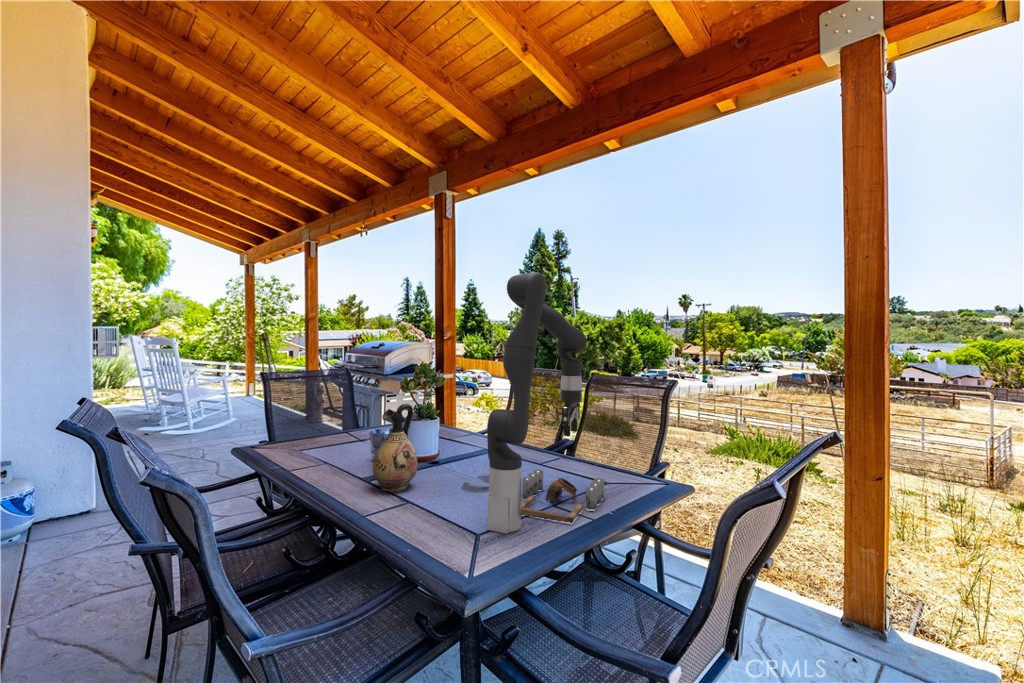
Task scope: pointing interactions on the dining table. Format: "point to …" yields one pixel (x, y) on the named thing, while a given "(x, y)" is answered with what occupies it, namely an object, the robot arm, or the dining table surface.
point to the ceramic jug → (396, 453)
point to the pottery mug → (560, 489)
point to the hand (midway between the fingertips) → (570, 433)
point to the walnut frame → (548, 515)
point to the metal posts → (536, 483)
